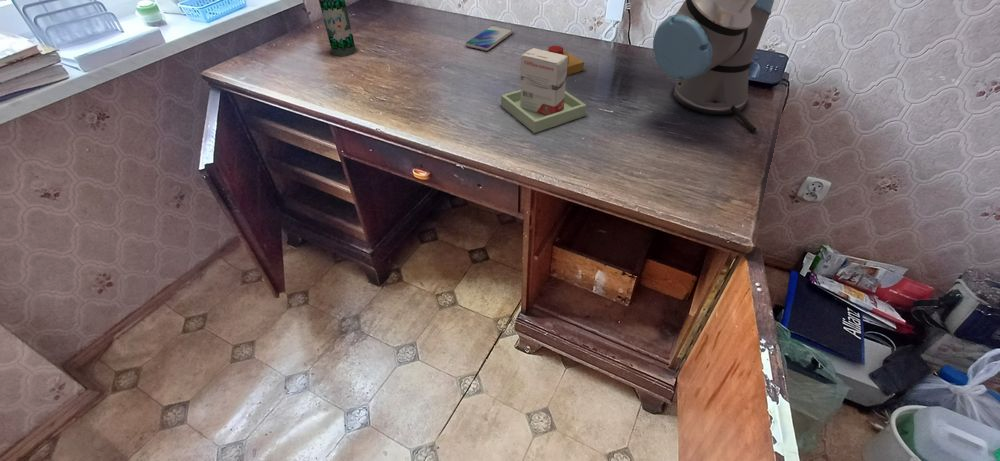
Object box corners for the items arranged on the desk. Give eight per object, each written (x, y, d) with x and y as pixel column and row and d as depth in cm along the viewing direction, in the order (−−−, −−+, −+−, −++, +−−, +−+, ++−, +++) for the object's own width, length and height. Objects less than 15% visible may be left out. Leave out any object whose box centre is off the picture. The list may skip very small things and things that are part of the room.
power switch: (583, 70, 115) (585, 54, 113) (543, 82, 111) (544, 66, 108) (563, 59, 120) (565, 43, 118) (525, 69, 116) (525, 53, 113)
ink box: (565, 108, 101) (570, 55, 92) (554, 118, 98) (559, 64, 89) (530, 98, 104) (532, 45, 96) (518, 107, 101) (520, 54, 93)
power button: (565, 56, 113) (566, 49, 112) (553, 60, 111) (554, 52, 110) (556, 51, 115) (557, 44, 114) (544, 54, 114) (545, 47, 112)
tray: (585, 116, 100) (586, 104, 98) (534, 133, 95) (534, 121, 93) (549, 91, 108) (550, 80, 106) (501, 106, 103) (500, 95, 101)
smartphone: (513, 30, 133) (487, 48, 123) (513, 33, 133) (487, 52, 124) (491, 25, 135) (464, 43, 126) (491, 28, 136) (464, 46, 126)
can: (333, 57, 122) (317, -5, 112) (331, 48, 126) (316, -12, 116) (356, 53, 123) (343, -7, 113) (354, 45, 128) (341, -15, 117)
